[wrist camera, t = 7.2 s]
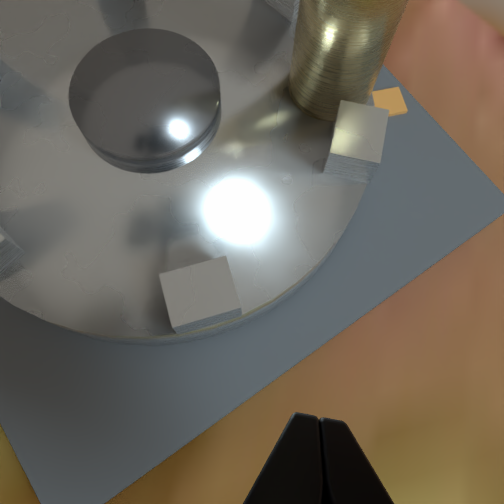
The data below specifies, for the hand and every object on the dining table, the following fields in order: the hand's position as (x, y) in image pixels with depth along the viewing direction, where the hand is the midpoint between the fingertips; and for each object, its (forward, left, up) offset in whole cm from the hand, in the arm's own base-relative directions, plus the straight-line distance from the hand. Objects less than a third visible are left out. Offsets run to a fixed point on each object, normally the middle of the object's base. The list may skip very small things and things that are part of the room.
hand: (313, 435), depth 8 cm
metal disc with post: (+11, -2, -9) cm, 14 cm away
